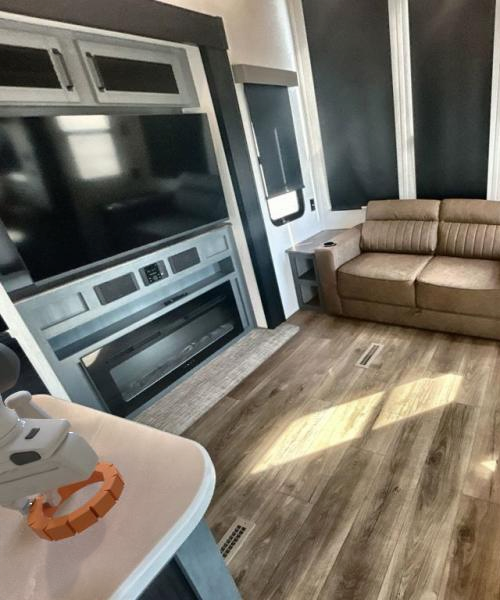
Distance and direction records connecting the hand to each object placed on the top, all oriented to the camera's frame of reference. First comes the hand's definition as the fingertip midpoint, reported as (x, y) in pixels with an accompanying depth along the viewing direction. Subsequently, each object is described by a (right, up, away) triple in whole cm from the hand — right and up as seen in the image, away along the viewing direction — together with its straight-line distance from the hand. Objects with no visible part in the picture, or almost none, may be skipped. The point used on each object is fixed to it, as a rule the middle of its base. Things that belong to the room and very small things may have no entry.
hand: (44, 507), depth 60 cm
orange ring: (+5, -1, +2) cm, 5 cm away
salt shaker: (-27, +1, +28) cm, 39 cm away
